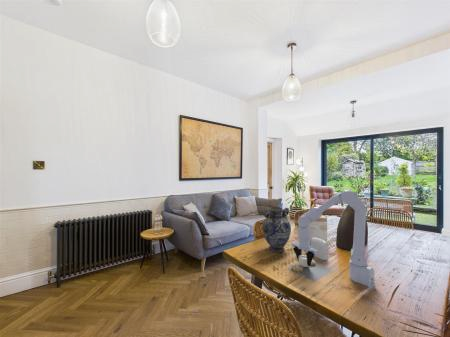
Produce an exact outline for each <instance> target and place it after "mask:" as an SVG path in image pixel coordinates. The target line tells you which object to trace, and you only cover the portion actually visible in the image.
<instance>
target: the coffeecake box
mask: <svg viewBox="0 0 450 337" xmlns="http://www.w3.org/2000/svg"><path fill="white" fill-rule="evenodd" d="M309 230H310V245H311V239H312V238H320V239H322V240H324V241H325V242H327V243H328V218H327V217H326V216H325V215H322V216H321V217H320V218H318V219H317V220H315V221H314V222H312V223H310V224H309Z"/></svg>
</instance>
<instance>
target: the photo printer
mask: <svg viewBox="0 0 450 337" xmlns="http://www.w3.org/2000/svg"><path fill="white" fill-rule="evenodd" d="M310 247H312V248H314V249H316V250H318V254H316V255H314V257H315V258H318V259H320V260H322V261H327V260H328V258H329V256H328V254H329V253H328V252H329V248H328V241H327V242H325V241H324V240H322V239H320V238H312V239H311V244H310Z"/></svg>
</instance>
